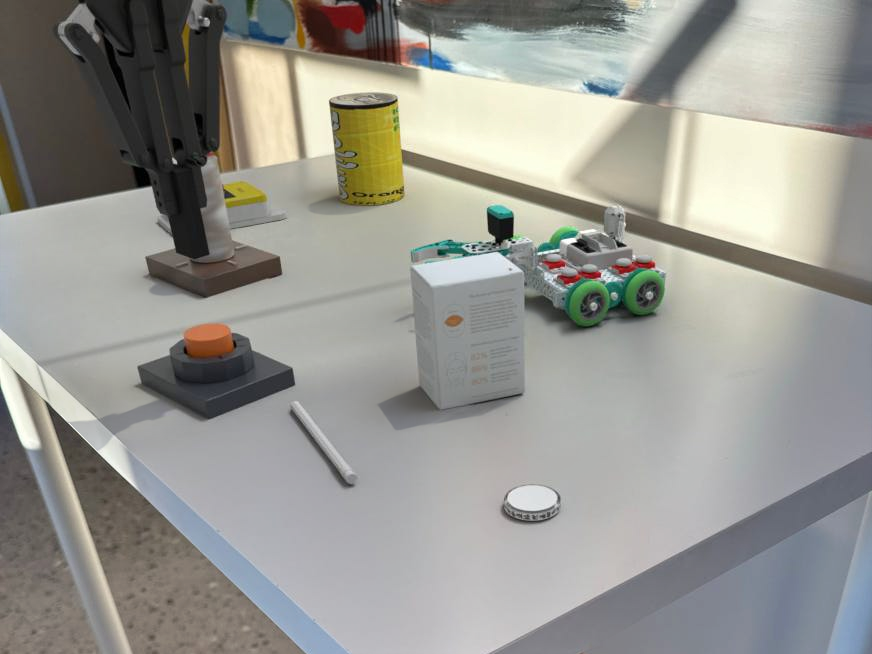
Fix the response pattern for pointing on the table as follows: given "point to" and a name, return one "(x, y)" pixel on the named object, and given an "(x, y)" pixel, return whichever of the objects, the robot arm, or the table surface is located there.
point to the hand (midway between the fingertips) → (192, 253)
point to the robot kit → (570, 265)
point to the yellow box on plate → (242, 207)
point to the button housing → (216, 378)
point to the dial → (215, 214)
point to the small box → (469, 329)
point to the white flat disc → (532, 502)
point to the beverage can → (367, 148)
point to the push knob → (208, 340)
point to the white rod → (324, 443)
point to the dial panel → (215, 270)
